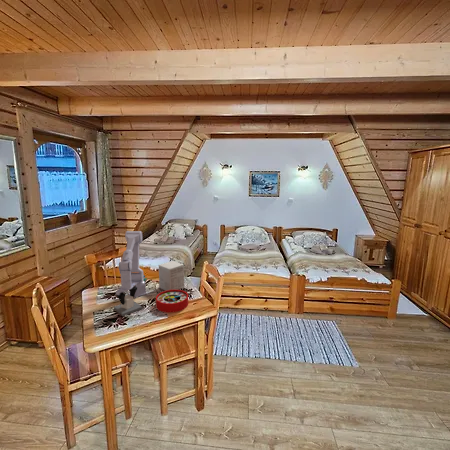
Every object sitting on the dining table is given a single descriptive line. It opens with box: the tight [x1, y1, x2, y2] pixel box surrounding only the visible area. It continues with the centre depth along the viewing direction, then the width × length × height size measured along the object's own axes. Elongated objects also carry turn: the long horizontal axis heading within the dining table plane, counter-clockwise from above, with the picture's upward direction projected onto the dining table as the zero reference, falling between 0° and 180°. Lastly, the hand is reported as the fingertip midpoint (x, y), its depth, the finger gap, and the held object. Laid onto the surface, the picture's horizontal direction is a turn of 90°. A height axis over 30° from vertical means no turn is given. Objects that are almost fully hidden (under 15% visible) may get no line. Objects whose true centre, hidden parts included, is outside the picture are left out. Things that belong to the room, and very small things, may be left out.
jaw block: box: [120, 294, 135, 309], centre depth 157 cm, size 5×5×6 cm
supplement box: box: [158, 260, 185, 291], centre depth 187 cm, size 13×13×18 cm
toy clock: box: [155, 289, 189, 314], centre depth 163 cm, size 20×6×20 cm
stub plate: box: [113, 301, 143, 317], centre depth 157 cm, size 12×12×5 cm
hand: (127, 301), depth 157 cm, fingers open, 7 cm apart
